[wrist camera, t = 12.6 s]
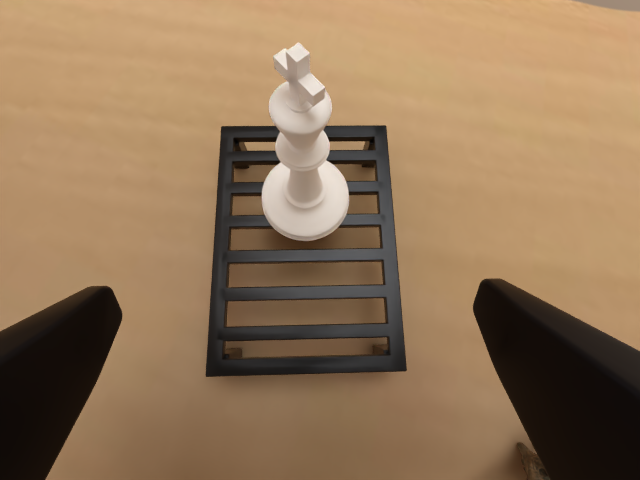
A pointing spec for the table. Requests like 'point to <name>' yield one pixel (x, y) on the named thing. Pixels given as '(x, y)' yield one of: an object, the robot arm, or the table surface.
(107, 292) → the robot arm
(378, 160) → the rack
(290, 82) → the chess piece
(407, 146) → the table surface
